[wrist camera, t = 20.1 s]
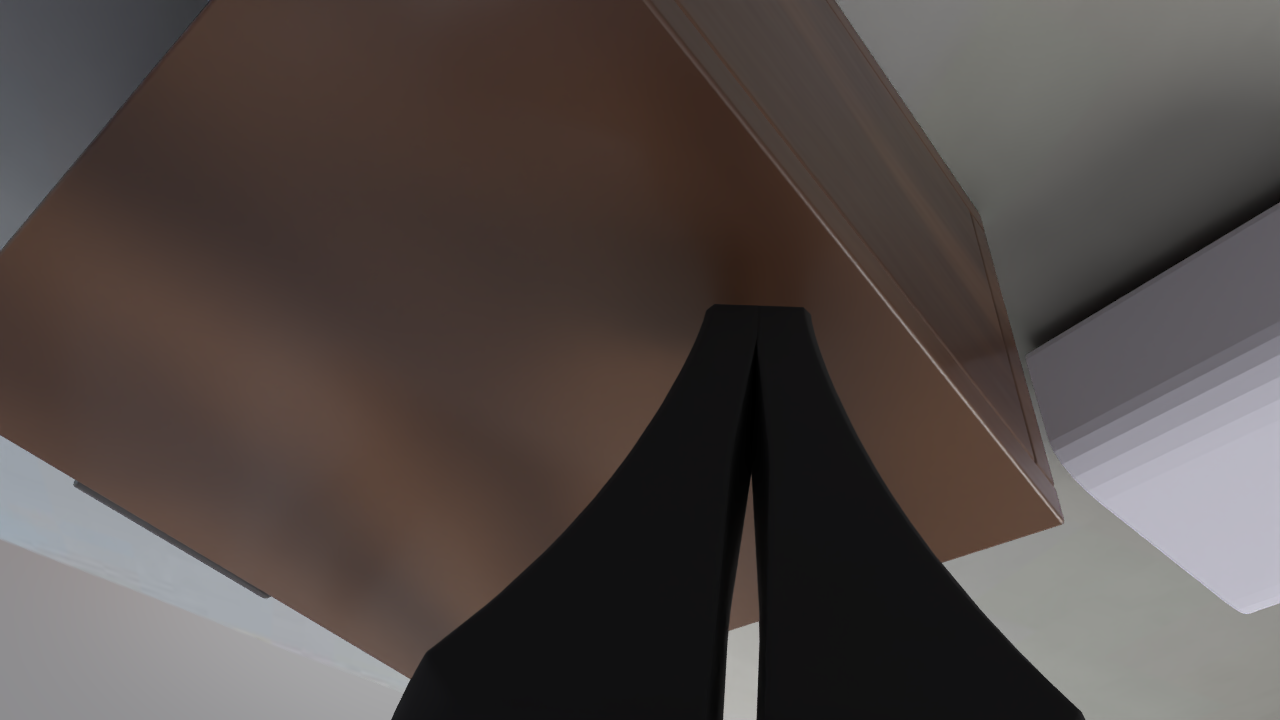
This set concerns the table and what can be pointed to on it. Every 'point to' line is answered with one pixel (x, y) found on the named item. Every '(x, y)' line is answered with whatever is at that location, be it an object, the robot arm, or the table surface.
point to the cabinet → (492, 287)
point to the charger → (1183, 411)
